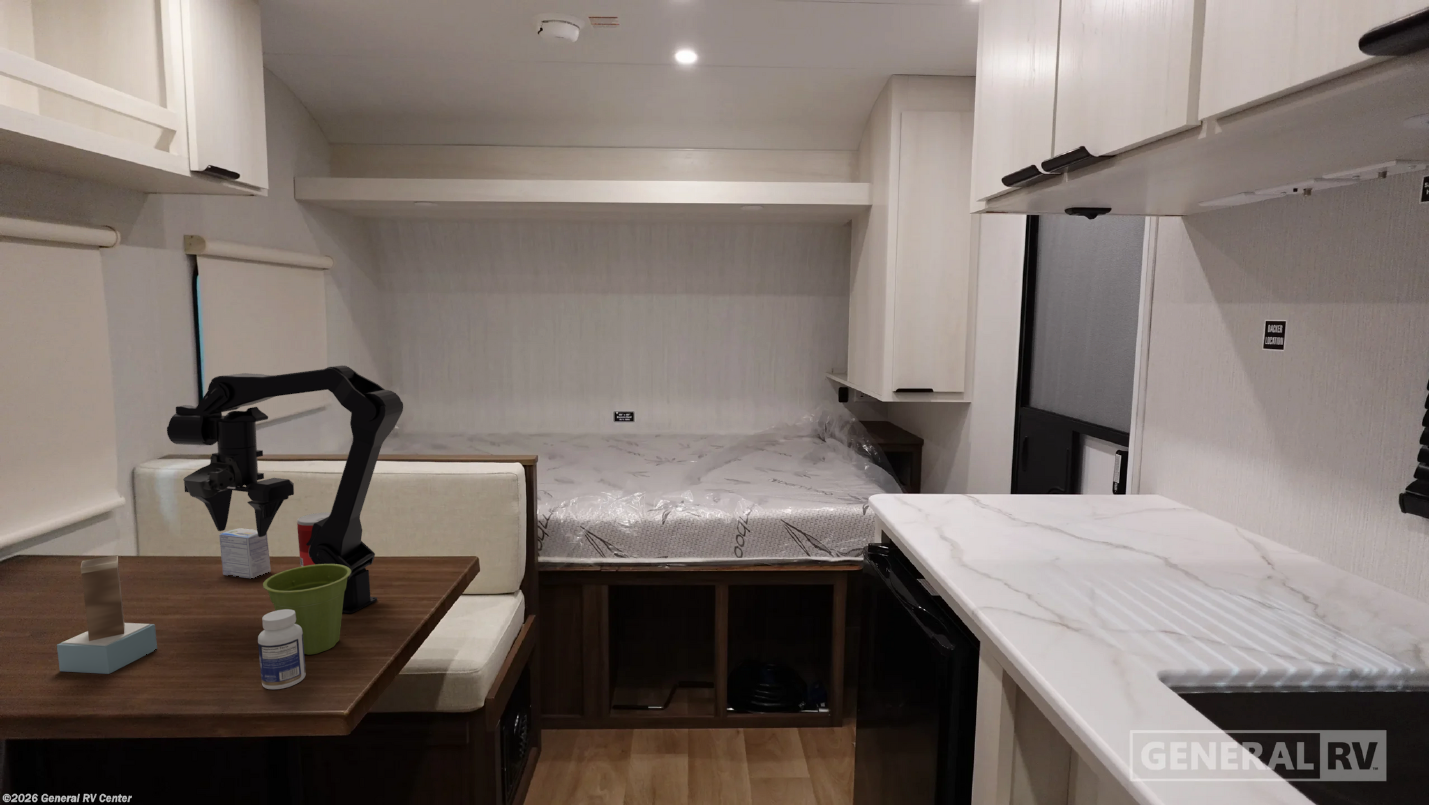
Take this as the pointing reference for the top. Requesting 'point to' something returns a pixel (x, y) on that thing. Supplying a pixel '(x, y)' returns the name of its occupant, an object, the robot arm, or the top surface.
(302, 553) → the canned food
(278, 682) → the pill bottle
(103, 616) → the beige block
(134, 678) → the top surface
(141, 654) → the stand
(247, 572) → the medicine box
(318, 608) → the plant pot
